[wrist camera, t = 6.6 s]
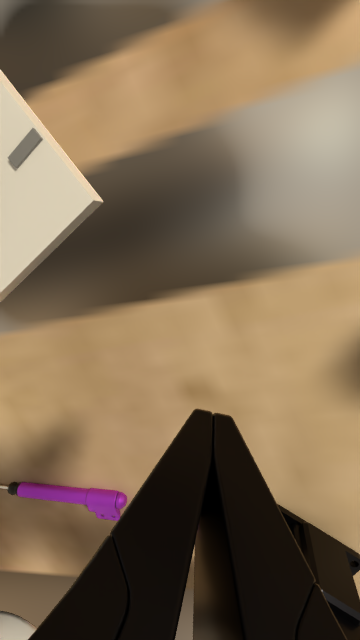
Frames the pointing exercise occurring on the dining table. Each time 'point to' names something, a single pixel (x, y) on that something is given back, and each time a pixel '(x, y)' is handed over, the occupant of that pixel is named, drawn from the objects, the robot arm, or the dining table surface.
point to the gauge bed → (34, 191)
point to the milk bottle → (14, 627)
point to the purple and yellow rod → (74, 497)
